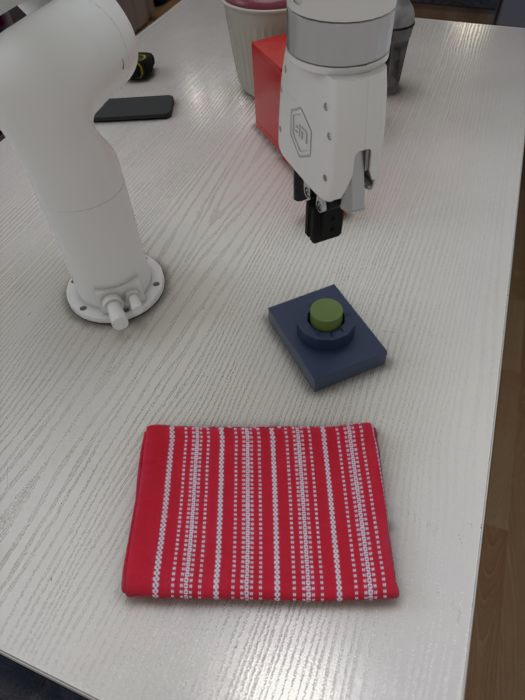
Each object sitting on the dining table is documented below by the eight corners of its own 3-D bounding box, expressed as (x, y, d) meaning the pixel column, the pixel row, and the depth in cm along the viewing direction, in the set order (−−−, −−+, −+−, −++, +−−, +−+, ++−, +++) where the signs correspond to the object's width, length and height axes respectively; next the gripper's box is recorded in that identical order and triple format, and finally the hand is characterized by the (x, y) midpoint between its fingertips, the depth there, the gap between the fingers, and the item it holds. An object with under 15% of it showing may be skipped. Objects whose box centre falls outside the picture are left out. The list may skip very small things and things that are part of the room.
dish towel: (149, 429, 57) (144, 416, 55) (375, 428, 56) (378, 414, 54) (119, 602, 46) (111, 593, 44) (398, 605, 45) (403, 596, 43)
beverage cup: (357, 91, 103) (369, -34, 87) (380, 77, 106) (394, -46, 91) (390, 102, 100) (407, -26, 84) (412, 87, 103) (433, -38, 87)
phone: (96, 99, 104) (173, 94, 103) (97, 103, 105) (174, 98, 104) (88, 118, 99) (169, 113, 99) (90, 122, 100) (170, 118, 99)
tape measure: (157, 67, 114) (153, 48, 111) (151, 82, 109) (147, 63, 106) (125, 68, 114) (120, 49, 111) (118, 83, 110) (113, 64, 107)
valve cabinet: (376, 128, 94) (387, 41, 83) (282, 155, 90) (281, 68, 79) (344, 101, 100) (350, 18, 90) (256, 126, 96) (251, 41, 86)
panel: (385, 363, 61) (389, 340, 58) (314, 392, 59) (315, 370, 56) (333, 296, 69) (335, 272, 65) (268, 320, 67) (267, 296, 63)
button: (347, 325, 61) (349, 314, 59) (319, 336, 60) (319, 325, 58) (332, 304, 63) (332, 294, 61) (304, 315, 62) (304, 304, 61)
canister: (340, 90, 103) (349, -42, 87) (262, 121, 97) (255, -15, 81) (285, 59, 113) (283, -65, 97) (210, 85, 107) (195, -42, 91)
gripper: (249, 5, 42) (257, 203, 56) (344, 86, 34) (325, 296, 48) (334, -11, 44) (321, 185, 58) (445, 62, 35) (397, 271, 50)
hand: (322, 234), depth 53 cm, fingers closed
